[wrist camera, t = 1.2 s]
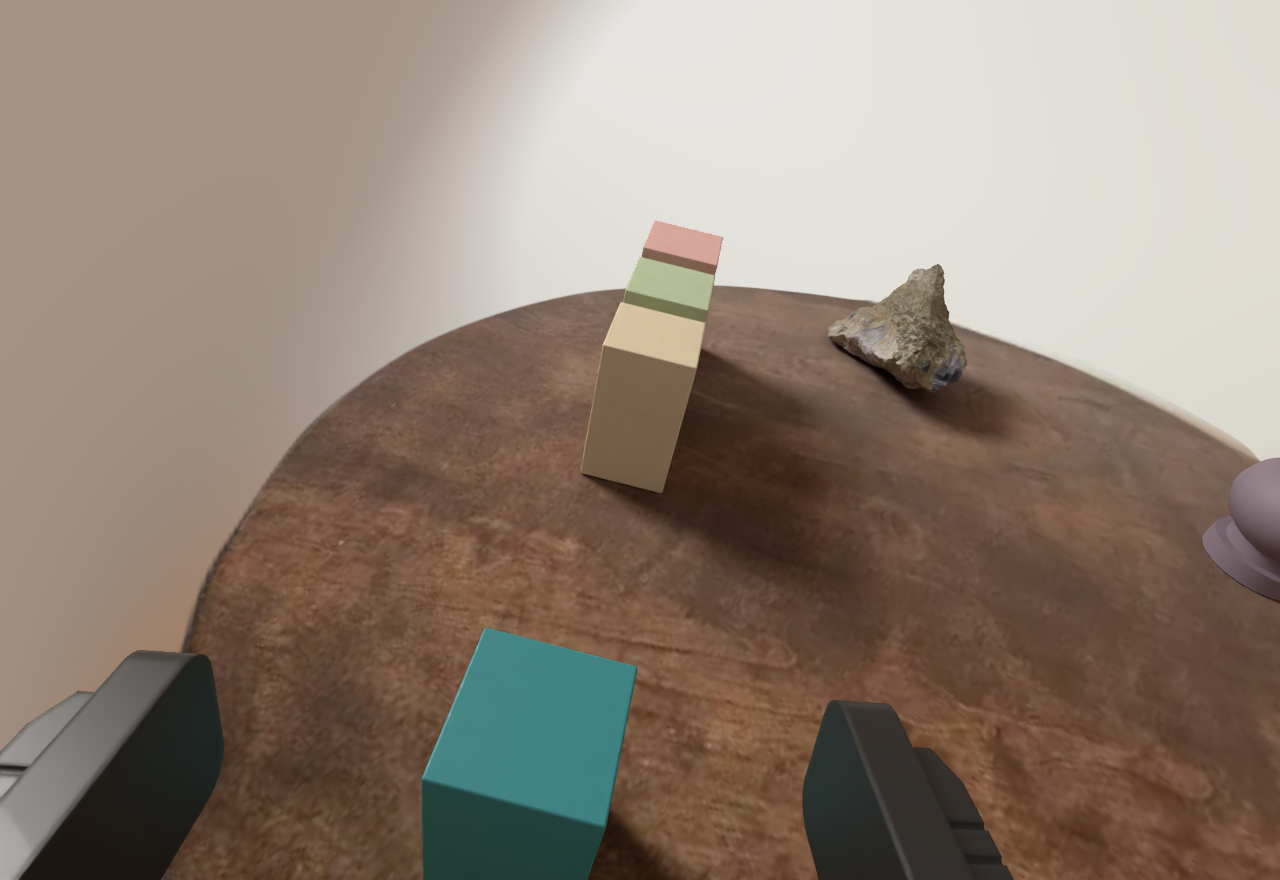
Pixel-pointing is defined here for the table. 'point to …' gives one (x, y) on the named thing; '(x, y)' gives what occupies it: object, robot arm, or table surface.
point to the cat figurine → (1251, 530)
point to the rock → (907, 334)
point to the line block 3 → (641, 396)
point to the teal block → (525, 763)
